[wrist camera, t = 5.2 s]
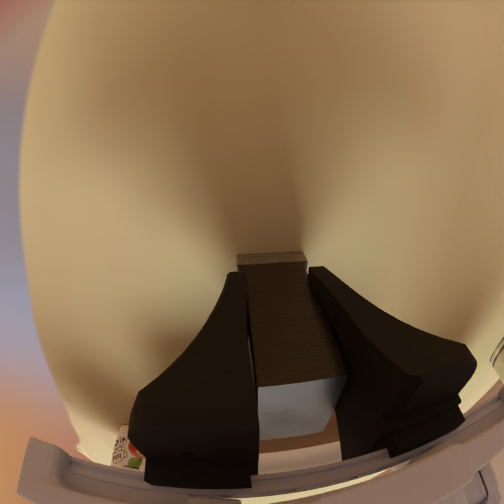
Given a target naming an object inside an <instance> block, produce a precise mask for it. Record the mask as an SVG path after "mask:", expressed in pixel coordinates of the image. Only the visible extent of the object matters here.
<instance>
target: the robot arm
mask: <svg viewBox="0 0 504 504" xmlns="http://www.w3.org/2000/svg"><path fill="white" fill-rule="evenodd" d="M308 277H309V279H310V281H311V284H312V286H313V288H314V291H315V292H316V295H317V297H318V299H319V302H320V304H321V306H322V309H323V311H324V313H325V316H326V318H327V321H328V323H329V325H330V328H331V330H332V333H333V335H334V338H335V340H336V343H337V345H338V348H339V350H340V353H341V355H342V358H343V360H344V363H345V365H346V368H347V370H348V373H349V376H348V379H347V381H346V383H345V386H344V388H343V390H342V393H341V395H340V397H339V399H338V402H337V404H336V406H335V408H334V409H335V414H336V420H337V426H338V432H339V439H340V448H341V457H342V461H340V462H336V463H331V464H327V465H322V466H317V467H312V468H307V469H301V470H294V471H287V472H280V473H271V474H261V475H258V461H259V437H260V427H259V418H258V409H257V402H256V396H255V390H254V383H253V377H252V370H251V362H250V355H249V347H248V339H249V333H248V301H247V278H246V272H245V271H240V272H229V273H228V274H227V278H226V282H225V285H224V288H223V290H222V293H221V295H220V297H219V299H218V301H217V303H216V305H215V307H214V309H213V311H212V313H211V314H210V316H209V318H208V320H207V321H206V323H205V324H204V326H203V327H202V329H201V330H200V332H199V333H198V335H197V336H196V337H195V339H194V340H193V341H192V342H191V344H190V345H189V346H188V347H187V348H186V350H185V351H184V352H183V353H182V354H181V355H180V356H179V357H178V358H177V359H176V360H175V361H174V362H173V363H172V364H171V365H170V366H169V367H168V368H167V369H166V370H165V371H164V372H163V373H162V374H161V375H160V376H158V377H157V378H156V379H155V380H153V381H152V382H151V383H149V384H148V385H147V386H146V387H144V388H143V389H142V390H140V391H139V392H138V395H137V397H136V400H135V402H134V406H133V408H132V411H131V415H130V421H129V427H128V434H127V438H128V439H129V441H130V442H131V444H132V445H133V446H134V447H135V448H136V449H137V450H138V451H139V452H140V453H141V454H142V455H143V456H144V457H145V458H146V461H145V472H141V471H135V470H128V469H123V468H117V467H112V466H107V465H103V464H99V463H94V462H90V461H86V460H82V459H79V458H75V457H72V456H70V455H69V454H68V453H67V452H66V451H64V450H63V449H61V448H60V447H57V446H56V445H53V444H50V443H48V442H45V441H42V440H39V439H36V438H34V437H30V439H29V443H28V446H27V450H26V453H25V457H24V461H23V465H22V469H21V474H20V478H19V483H18V488H17V493H18V495H20V496H22V497H23V498H26V499H27V500H29V501H31V502H33V503H35V504H241V501H240V500H238V499H223V498H250V497H263V496H273V495H281V494H288V493H295V492H301V491H307V490H312V489H317V488H322V487H327V486H331V485H335V484H339V483H343V482H347V481H350V480H354V479H358V478H361V477H364V476H367V475H371V474H374V473H377V472H379V471H382V470H385V469H388V468H392V471H393V472H391V473H388V474H385V475H382V476H379V477H377V478H374V479H371V480H367V481H364V482H361V483H358V484H355V485H351V486H348V487H344V488H341V489H337V490H333V491H329V492H326V493H322V494H318V495H313V496H309V497H304V498H299V499H294V500H289V501H283V502H277V503H271V504H500V503H499V502H500V501H501V496H500V493H499V490H498V483H497V480H496V476H495V473H494V471H493V468H492V466H491V464H490V461H492V460H493V459H494V458H495V457H496V456H498V455H499V454H500V453H501V452H502V451H503V450H504V386H503V387H502V388H501V389H500V390H499V392H498V393H497V394H496V395H494V396H493V397H491V398H490V399H488V400H486V401H485V402H483V403H482V404H480V405H478V406H477V407H475V408H473V409H471V410H470V411H468V412H466V413H464V414H462V412H461V410H460V408H459V406H458V405H459V404H460V403H461V399H460V397H459V395H458V393H459V392H460V391H461V390H462V388H463V387H464V386H465V385H466V383H467V382H468V381H469V380H470V378H471V377H472V375H473V374H474V372H475V370H476V367H477V361H476V359H475V358H474V356H473V355H472V353H471V352H470V350H469V349H468V348H467V346H466V345H465V344H463V343H459V342H455V341H451V340H448V339H444V338H441V337H438V336H435V335H432V334H430V333H427V332H424V331H422V330H420V329H417V328H415V327H413V326H411V325H409V324H406V323H404V322H402V321H400V320H398V319H397V318H395V317H393V316H391V315H390V314H388V313H386V312H384V311H383V310H381V309H379V308H378V307H376V306H375V305H373V304H372V303H371V302H369V301H368V300H366V299H365V298H363V297H362V296H361V295H359V294H358V293H357V292H355V291H354V290H353V289H351V288H350V287H349V286H348V285H346V284H345V283H344V282H343V281H341V280H340V279H339V278H338V277H336V276H335V275H334V274H333V273H332V272H330V271H329V270H328V269H326V268H325V267H324V266H319V267H309V271H308ZM484 487H485V488H484Z"/></svg>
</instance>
